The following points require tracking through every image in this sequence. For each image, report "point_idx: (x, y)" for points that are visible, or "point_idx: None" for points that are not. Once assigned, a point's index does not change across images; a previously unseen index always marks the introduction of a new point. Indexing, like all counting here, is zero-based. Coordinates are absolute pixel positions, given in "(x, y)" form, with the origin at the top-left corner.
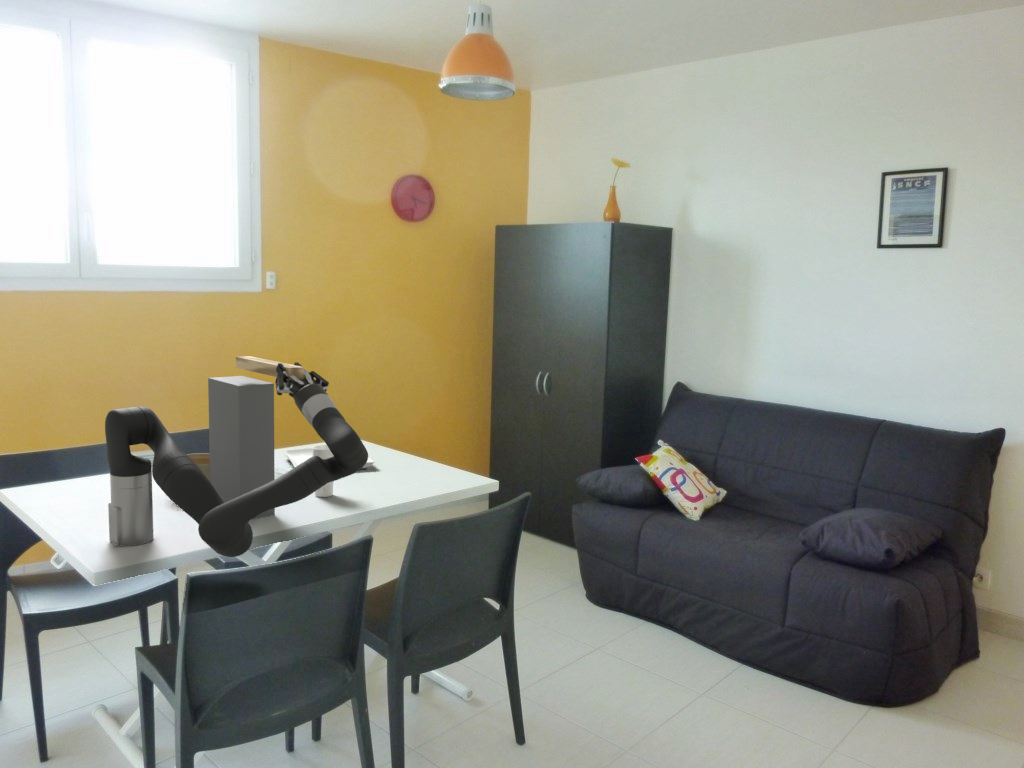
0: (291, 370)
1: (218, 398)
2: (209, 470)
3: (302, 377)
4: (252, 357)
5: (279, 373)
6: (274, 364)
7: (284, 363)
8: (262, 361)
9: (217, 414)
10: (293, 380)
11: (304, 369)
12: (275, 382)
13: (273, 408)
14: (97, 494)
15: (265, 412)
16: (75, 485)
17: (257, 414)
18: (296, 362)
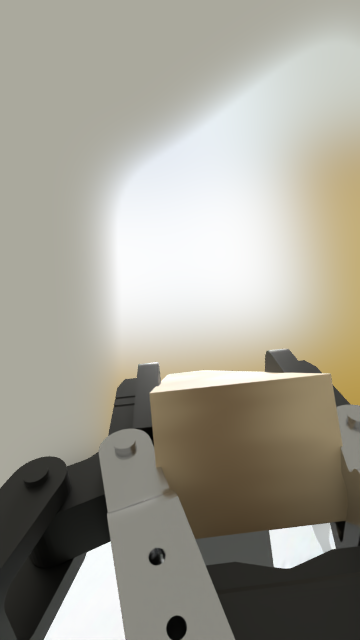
0: (176, 421)
1: None
2: None
3: (329, 500)
4: (198, 371)
5: (34, 464)
6: (169, 379)
7: (235, 372)
8: (178, 375)
9: None
10: (126, 636)
11: (344, 399)
12: (27, 561)
13: (267, 537)
14: (78, 591)
15: (240, 553)
16: (86, 555)
17: (212, 560)
18: (276, 350)
